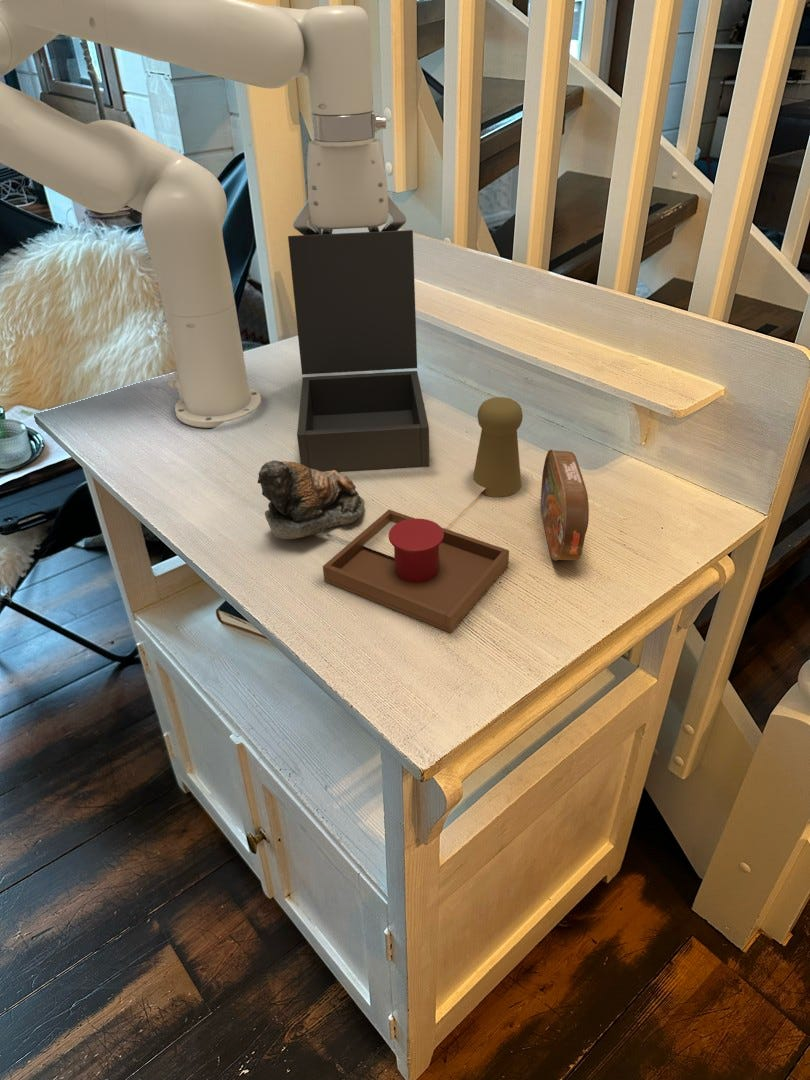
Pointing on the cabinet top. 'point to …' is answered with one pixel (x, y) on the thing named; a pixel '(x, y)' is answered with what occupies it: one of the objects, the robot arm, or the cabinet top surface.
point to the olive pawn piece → (498, 447)
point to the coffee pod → (416, 549)
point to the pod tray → (433, 601)
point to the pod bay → (363, 422)
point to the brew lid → (354, 301)
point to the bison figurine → (307, 499)
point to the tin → (564, 505)
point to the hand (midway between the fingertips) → (353, 277)
